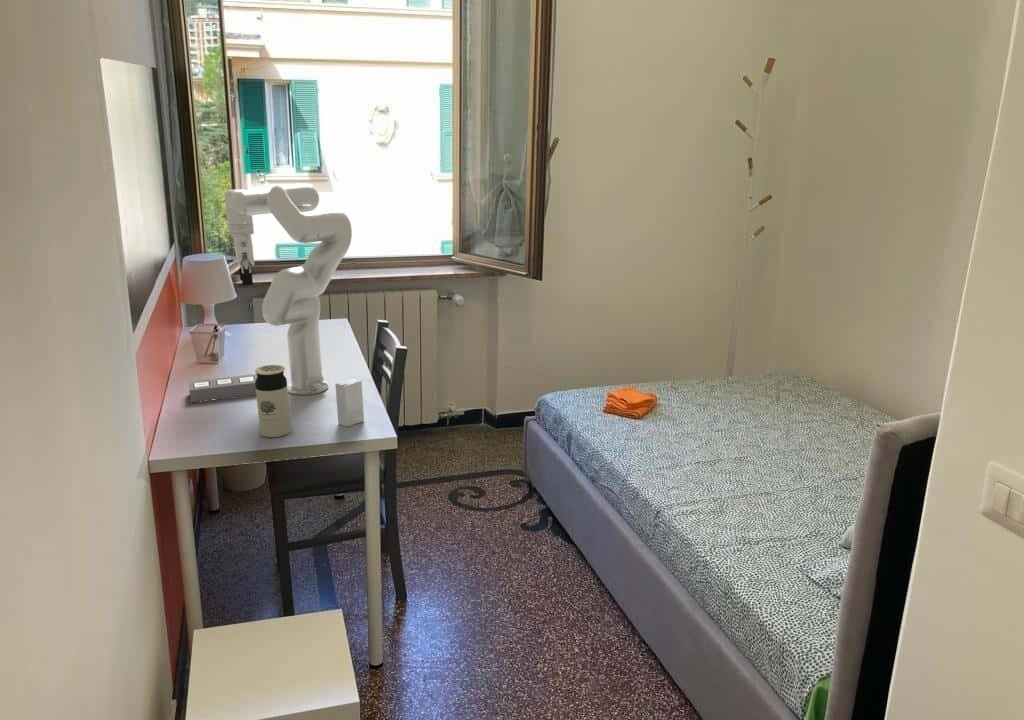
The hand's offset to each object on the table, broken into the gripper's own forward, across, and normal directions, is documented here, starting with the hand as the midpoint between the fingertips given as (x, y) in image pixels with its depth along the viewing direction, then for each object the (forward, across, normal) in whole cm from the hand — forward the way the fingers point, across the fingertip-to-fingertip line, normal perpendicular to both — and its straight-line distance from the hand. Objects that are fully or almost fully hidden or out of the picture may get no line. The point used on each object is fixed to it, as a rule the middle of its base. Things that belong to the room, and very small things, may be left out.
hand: (246, 282), depth 252 cm
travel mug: (+31, -58, -1) cm, 66 cm away
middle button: (+29, -20, +10) cm, 37 cm away
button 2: (+29, -20, +4) cm, 35 cm away
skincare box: (+31, -59, -21) cm, 69 cm away
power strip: (+30, -20, +10) cm, 38 cm away
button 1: (+29, -20, +17) cm, 39 cm away
